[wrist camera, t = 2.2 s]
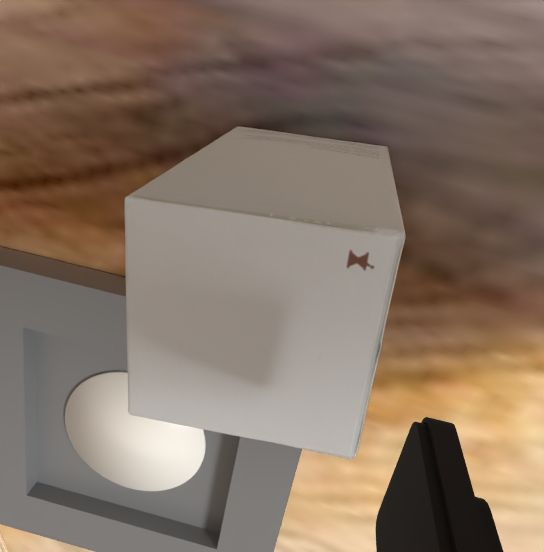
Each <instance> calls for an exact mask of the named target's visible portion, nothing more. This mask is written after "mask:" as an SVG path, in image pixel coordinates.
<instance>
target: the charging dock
mask: <svg viewBox="0 0 544 552" xmlns="http://www.w3.org/2000/svg"><path fill="white" fill-rule="evenodd" d="M301 450H302V449H300V448H295V447H291V446H287V445H282V444H277V443H273V442H267V441H262V440H256V439H251V438H245V437H240V436H234V435H229V434H224V433H219V432H214V431H209V430H204V429H199V428H194V427H189V426H183V425H178V424H173V423H168V422H163V421H158V420H153V419H148V418H144V417H139V416H133V415H130V414H129V412H128V369H127V322H126V277H122V276H118V275H114V274H110V273H106V272H102V271H98V270H94V269H90V268H86V267H82V266H78V265H74V264H69V263H65V262H61V261H57V260H53V259H49V258H45V257H41V256H37V255H33V254H29V253H25V252H21V251H17V250H13V249H9V248H5V247H1V246H0V524H2V525H5V526H9V527H12V528H16V529H19V530H23V531H26V532H30V533H33V534H36V535H40V536H43V537H47V538H50V539H54V540H57V541H61V542H64V543H68V544H71V545H75V546H78V547H82V548H85V549H88V550H92V551H95V552H274V548H275V545H276V541H277V537H278V534H279V530H280V527H281V523H282V519H283V516H284V512H285V508H286V505H287V501H288V498H289V494H290V490H291V487H292V483H293V479H294V476H295V472H296V469H297V465H298V461H299V458H300V454H301Z"/></svg>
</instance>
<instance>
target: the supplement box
mask: <svg viewBox="0 0 544 552" xmlns="http://www.w3.org/2000/svg"><path fill="white" fill-rule="evenodd" d="M405 237H406V236H405V230H404V225H403V220H402V215H401V210H400V206H399V201H398V195H397V191H396V186H395V181H394V176H393V171H392V166H391V161H390V156H389V152H388V147H387V146H380V145H372V144H365V143H357V142H350V141H342V140H335V139H328V138H320V137H313V136H306V135H299V134H292V133H285V132H277V131H270V130H263V129H255V128H247V127H236V128H234V129H232V130H231V131H230V132H228V133H226V134H224V135H223V136H221V137H220V138H218V139H217V140H215V141H214V142H212V143H211V144H209V145H207V146H206V147H204V148H202V149H201V150H200V151H198V152H196V153H195V154H193V155H191V156H190V157H188V158H186V159H185V160H183V161H182V162H180V163H179V164H177V165H176V166H174V167H173V168H171V169H169V170H168V171H166V172H165V173H163V174H162V175H160V176H158V177H157V178H155V179H153V180H152V181H150V182H149V183H147V184H146V185H144V186H143V187H141V188H139V189H138V190H136V191H135V192H133V193H131V194H130V195H128V196H126V198H125V270H126V322H127V369H128V412H129V414H130V415H133V416H139V417H144V418H148V419H153V420H158V421H163V422H168V423H173V424H178V425H183V426H189V427H194V428H199V429H204V430H209V431H214V432H219V433H224V434H229V435H234V436H240V437H245V438H251V439H256V440H262V441H267V442H273V443H277V444H282V445H287V446H291V447H295V448H300V449H304V450H309V451H314V452H318V453H323V454H328V455H333V456H337V457H342V458H346V459H353V458H354V457H355V456H356V454H357V452H358V448H359V443H360V439H361V434H362V430H363V425H364V421H365V416H366V411H367V407H368V402H369V398H370V393H371V389H372V384H373V380H374V375H375V371H376V367H377V363H378V359H379V356H380V352H381V348H382V341H383V334H384V329H385V325H386V320H387V316H388V311H389V306H390V302H391V298H392V293H393V289H394V285H395V280H396V276H397V271H398V267H399V262H400V258H401V254H402V250H403V245H404V241H405Z"/></svg>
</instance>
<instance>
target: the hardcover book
mask: <svg viewBox="0 0 544 552" xmlns="http://www.w3.org/2000/svg"><path fill="white" fill-rule="evenodd" d="M0 552H8V550H7V547H6V545H5V542H4V540H3V538H2V535H1V533H0Z"/></svg>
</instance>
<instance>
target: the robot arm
mask: <svg viewBox="0 0 544 552" xmlns="http://www.w3.org/2000/svg"><path fill="white" fill-rule="evenodd" d="M376 546H377V552H503V549H502V546H501V543H500V539H499V536H498V533H497V530H496V526H495V523H494V520H493V517H492V513H491V510H490V508H489V505H488V503H487V502H486V501H485V500H484V499H481V498H477V497H475V495H474V492H473V488H472V485H471V481H470V478H469V474H468V470H467V467H466V463H465V460H464V456H463V452H462V449H461V445H460V442H459V438H458V435H457V431H456V428H455V425H454V424H452V423H449V422H445V421H440V420H436V419H432V418H428V417H426V418H424V419H423V420H422V422H421V423H418V422H414V423H413V424H412V426H411V428H410V431H409V434H408V436H407V439H406V441H405V444H404V447H403V449H402V452H401V454H400V457H399V460H398V462H397V465H396V468H395V470H394V473H393V475H392V478H391V481H390V483H389V486H388V488H387V491H386V494H385V496H384V499H383V502H382V504H381V507H380V509H379V512H378V516H377V521H376Z"/></svg>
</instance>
